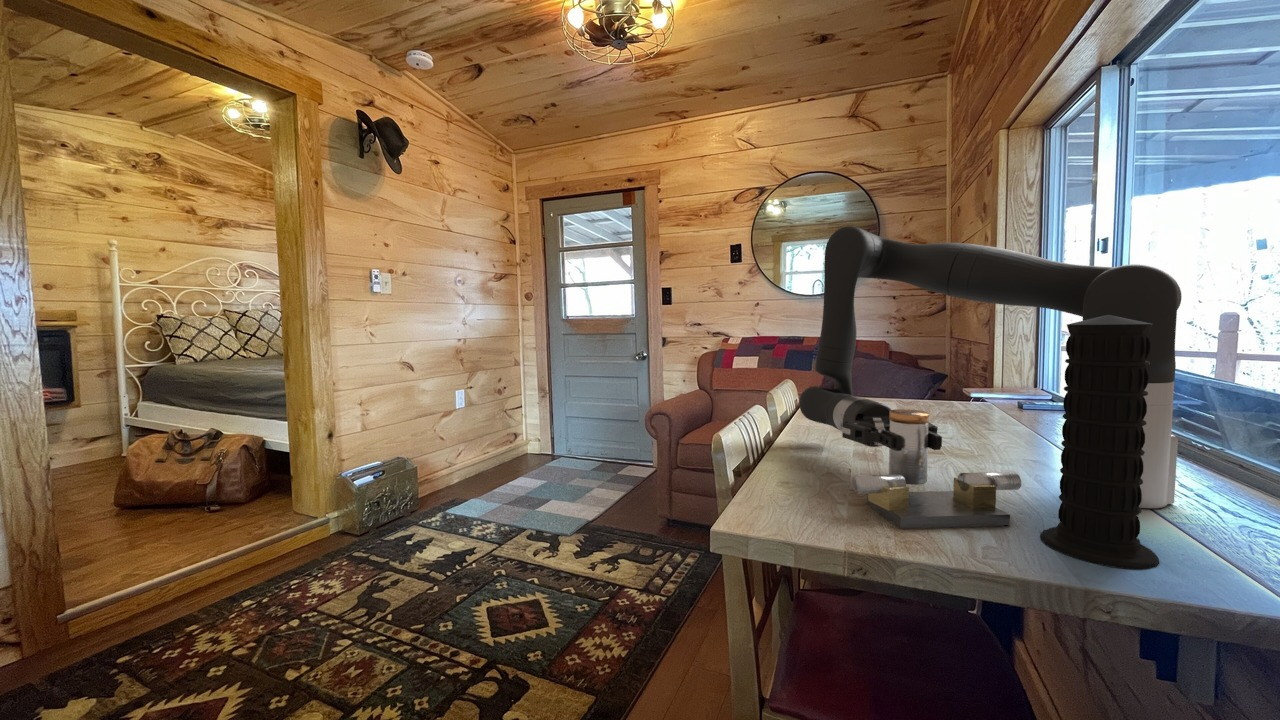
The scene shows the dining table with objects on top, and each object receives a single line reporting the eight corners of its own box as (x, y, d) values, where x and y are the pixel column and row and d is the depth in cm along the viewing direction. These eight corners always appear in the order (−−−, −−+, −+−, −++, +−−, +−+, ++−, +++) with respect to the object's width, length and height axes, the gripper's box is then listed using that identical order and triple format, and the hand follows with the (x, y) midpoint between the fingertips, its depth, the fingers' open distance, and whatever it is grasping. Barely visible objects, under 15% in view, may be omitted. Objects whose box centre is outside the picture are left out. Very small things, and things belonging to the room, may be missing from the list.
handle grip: (1188, 571, 51) (1107, 530, 61) (1205, 313, 49) (1119, 314, 59) (1083, 567, 52) (1020, 528, 62) (1095, 314, 50) (1028, 316, 60)
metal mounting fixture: (989, 500, 72) (990, 462, 72) (1040, 525, 63) (1042, 482, 63) (842, 503, 72) (842, 466, 71) (873, 529, 63) (873, 486, 62)
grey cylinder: (914, 473, 76) (916, 408, 75) (935, 484, 71) (936, 415, 70) (881, 474, 76) (882, 409, 75) (899, 485, 71) (901, 416, 70)
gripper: (822, 399, 87) (869, 418, 70) (904, 397, 87) (970, 416, 70) (822, 442, 88) (868, 470, 71) (903, 440, 88) (968, 468, 71)
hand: (918, 443), depth 71 cm, fingers closed on grey cylinder, 5 cm apart
